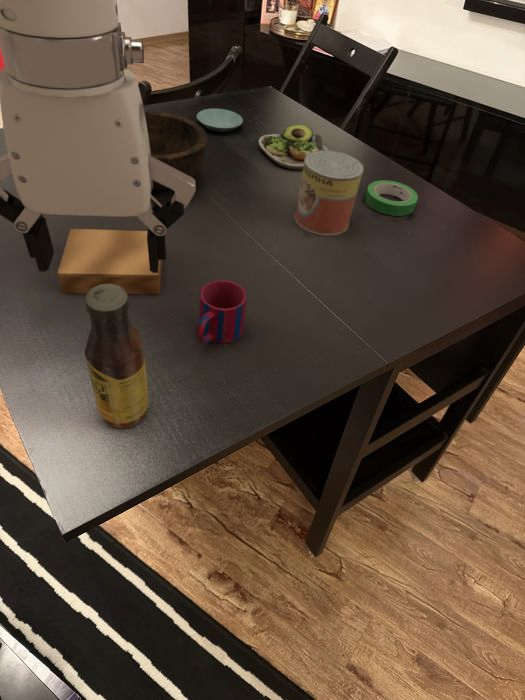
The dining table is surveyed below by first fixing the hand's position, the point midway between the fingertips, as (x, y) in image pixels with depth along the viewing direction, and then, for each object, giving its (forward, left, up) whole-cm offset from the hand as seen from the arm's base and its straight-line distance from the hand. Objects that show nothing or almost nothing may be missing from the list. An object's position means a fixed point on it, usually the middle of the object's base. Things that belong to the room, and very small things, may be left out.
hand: (101, 263), depth 44 cm
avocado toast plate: (+34, +77, -24) cm, 87 cm away
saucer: (+16, +90, -24) cm, 94 cm away
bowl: (+1, +60, -24) cm, 64 cm away
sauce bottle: (0, 0, -24) cm, 24 cm away
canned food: (+35, +47, -24) cm, 63 cm away
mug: (+12, +14, -24) cm, 30 cm away
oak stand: (-4, +29, -23) cm, 37 cm away
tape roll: (+52, +55, -24) cm, 79 cm away
